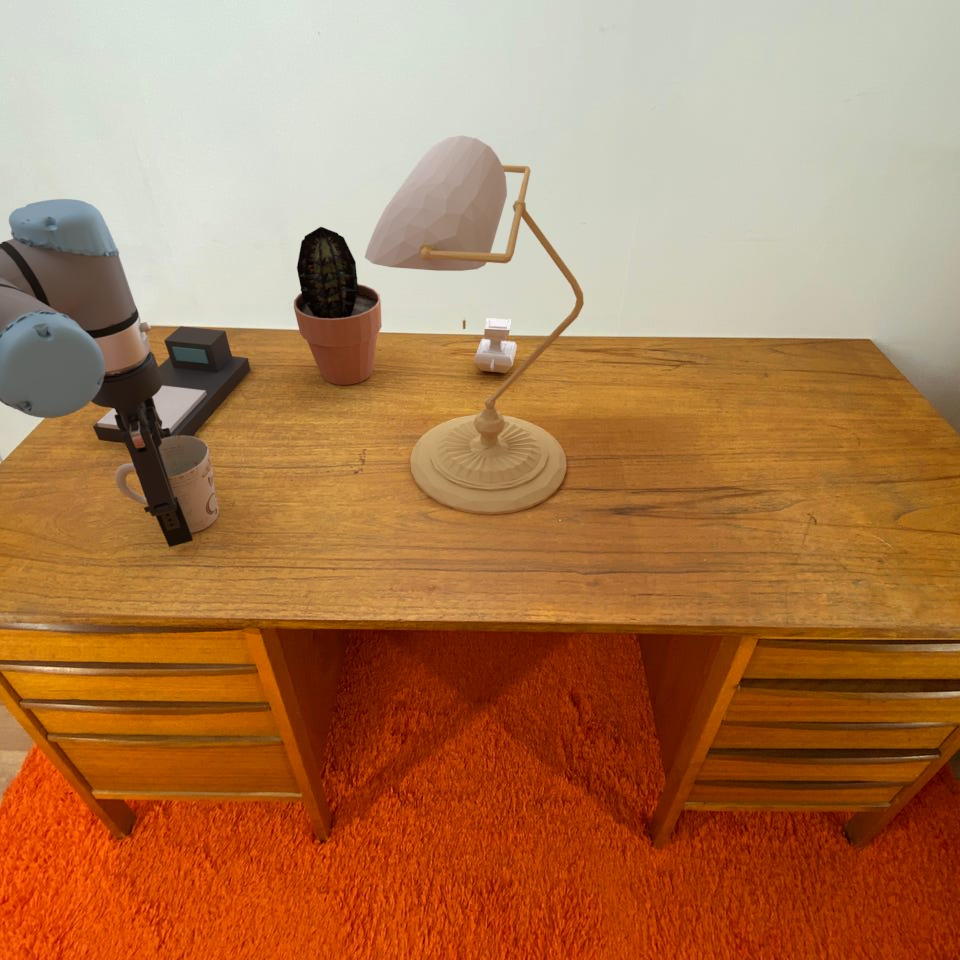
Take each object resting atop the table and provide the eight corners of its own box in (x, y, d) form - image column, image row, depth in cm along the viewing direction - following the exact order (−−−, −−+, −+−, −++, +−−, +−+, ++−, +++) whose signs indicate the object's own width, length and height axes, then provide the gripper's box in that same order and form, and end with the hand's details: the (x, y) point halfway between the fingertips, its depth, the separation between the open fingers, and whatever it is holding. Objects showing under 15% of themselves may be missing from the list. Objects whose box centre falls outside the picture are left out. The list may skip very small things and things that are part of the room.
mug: (215, 541, 79) (193, 479, 72) (114, 538, 79) (82, 476, 72) (236, 496, 85) (217, 435, 78) (143, 494, 85) (116, 433, 79)
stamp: (480, 353, 115) (481, 309, 110) (517, 356, 115) (519, 312, 109) (472, 378, 109) (472, 333, 103) (510, 382, 108) (513, 337, 102)
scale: (180, 450, 92) (164, 407, 88) (98, 439, 94) (78, 397, 89) (250, 370, 110) (241, 330, 105) (180, 362, 111) (168, 323, 107)
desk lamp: (425, 396, 104) (412, 120, 78) (567, 407, 102) (601, 128, 76) (381, 528, 81) (341, 196, 55) (564, 545, 79) (612, 210, 53)
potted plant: (403, 366, 111) (392, 220, 95) (349, 402, 103) (328, 247, 86) (344, 345, 117) (325, 202, 101) (289, 377, 108) (258, 227, 92)
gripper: (162, 408, 60) (220, 564, 74) (145, 307, 76) (195, 451, 91) (73, 428, 58) (151, 585, 72) (75, 318, 74) (138, 464, 88)
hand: (175, 510), depth 81 cm, fingers open, 11 cm apart
